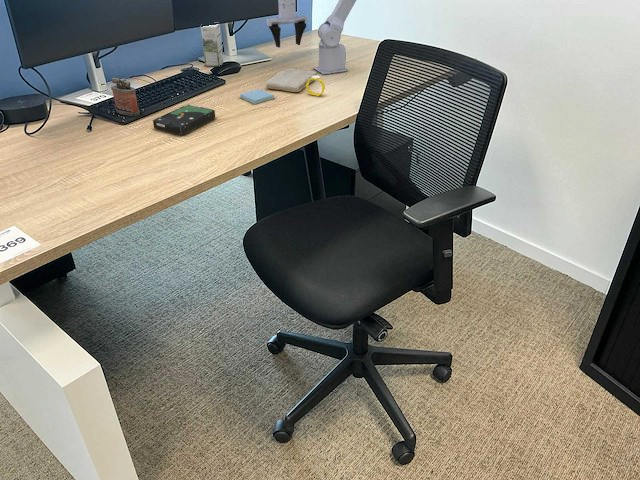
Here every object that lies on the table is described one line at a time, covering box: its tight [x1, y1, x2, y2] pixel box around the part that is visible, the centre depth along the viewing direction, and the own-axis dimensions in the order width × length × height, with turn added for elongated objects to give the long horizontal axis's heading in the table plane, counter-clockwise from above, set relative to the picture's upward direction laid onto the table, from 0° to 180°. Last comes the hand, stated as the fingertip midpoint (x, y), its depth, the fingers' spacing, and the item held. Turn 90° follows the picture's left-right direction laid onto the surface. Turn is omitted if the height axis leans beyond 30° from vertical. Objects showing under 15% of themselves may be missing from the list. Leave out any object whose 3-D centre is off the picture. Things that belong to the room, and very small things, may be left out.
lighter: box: [110, 77, 141, 117], centre depth 155 cm, size 8×3×10 cm, turn 65°
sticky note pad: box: [239, 88, 275, 105], centre depth 168 cm, size 8×8×1 cm
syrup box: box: [200, 23, 224, 68], centre depth 194 cm, size 6×6×14 cm
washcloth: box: [265, 67, 318, 93], centre depth 180 cm, size 12×18×3 cm, turn 160°
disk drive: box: [152, 104, 216, 136], centre depth 150 cm, size 10×3×15 cm
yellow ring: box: [305, 75, 326, 97], centre depth 170 cm, size 6×3×6 cm, turn 67°
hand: (288, 45), depth 186 cm, fingers open, 7 cm apart
